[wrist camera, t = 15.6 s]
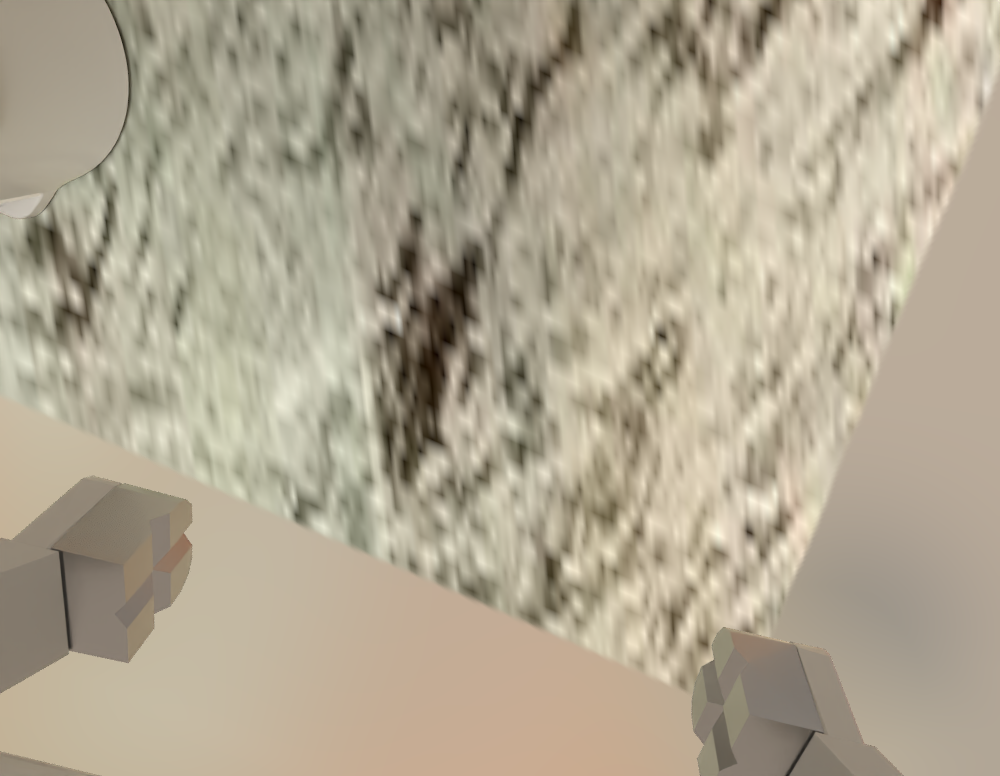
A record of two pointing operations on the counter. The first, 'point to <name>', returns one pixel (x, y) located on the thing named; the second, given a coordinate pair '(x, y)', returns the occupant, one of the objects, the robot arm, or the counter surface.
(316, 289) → the counter surface
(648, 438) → the counter surface
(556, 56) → the counter surface
